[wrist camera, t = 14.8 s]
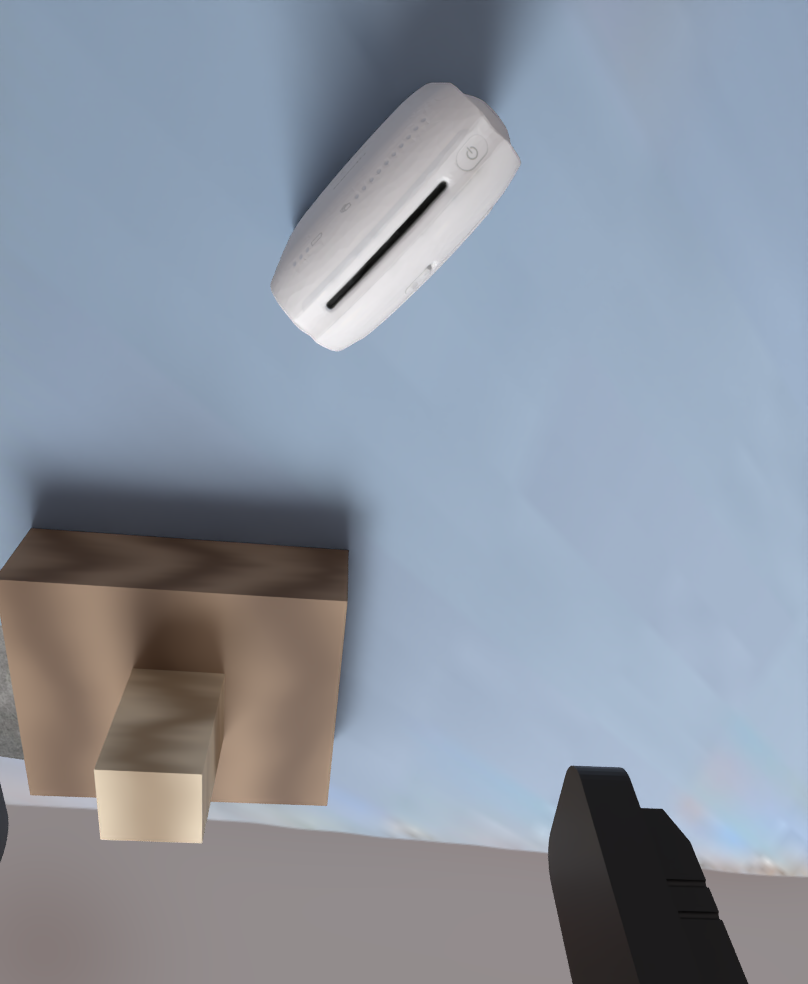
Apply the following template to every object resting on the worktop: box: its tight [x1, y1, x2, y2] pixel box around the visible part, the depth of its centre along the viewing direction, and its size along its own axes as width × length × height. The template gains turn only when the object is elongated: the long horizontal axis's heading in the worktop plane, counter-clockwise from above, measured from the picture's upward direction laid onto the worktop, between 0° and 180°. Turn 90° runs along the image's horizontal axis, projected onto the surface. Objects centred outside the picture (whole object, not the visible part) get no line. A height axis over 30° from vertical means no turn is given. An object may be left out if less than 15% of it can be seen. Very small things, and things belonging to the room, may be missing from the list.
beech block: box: [94, 668, 225, 843], centre depth 40 cm, size 5×5×7 cm
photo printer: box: [271, 82, 521, 351], centre depth 30 cm, size 10×4×12 cm, turn 135°
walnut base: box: [0, 528, 349, 806], centre depth 46 cm, size 18×16×5 cm
